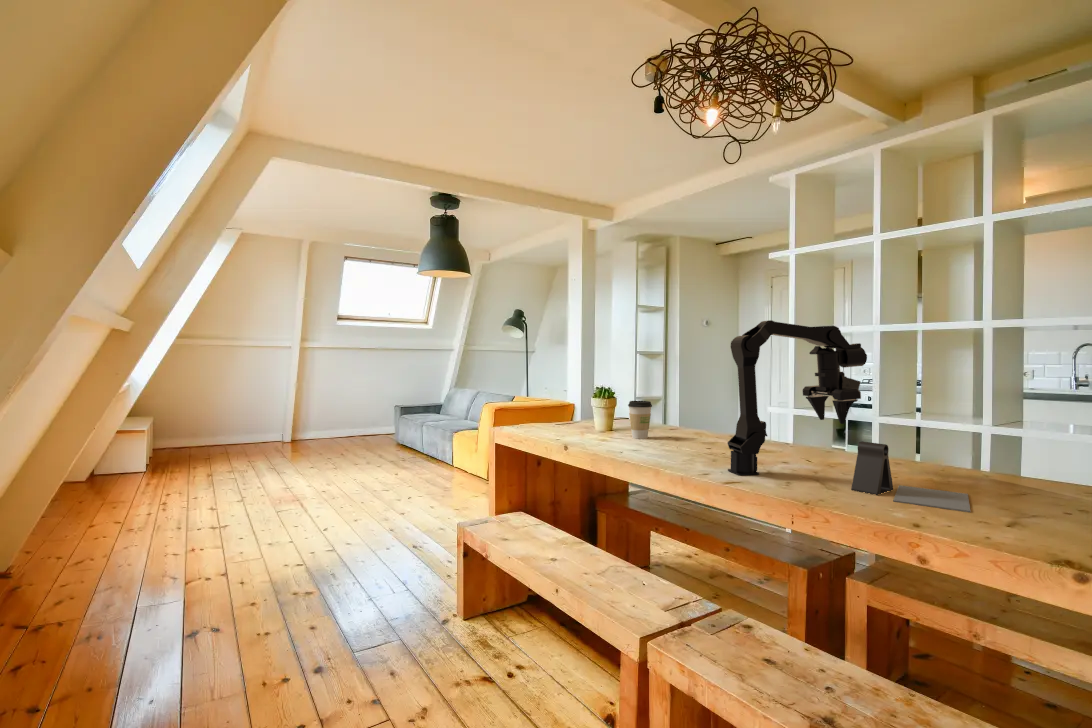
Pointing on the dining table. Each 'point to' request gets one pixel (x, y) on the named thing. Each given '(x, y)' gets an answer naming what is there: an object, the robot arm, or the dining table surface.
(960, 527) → the dining table surface
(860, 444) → the dark tent sign
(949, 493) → the mat
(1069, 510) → the dining table surface
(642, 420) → the coffee cup
